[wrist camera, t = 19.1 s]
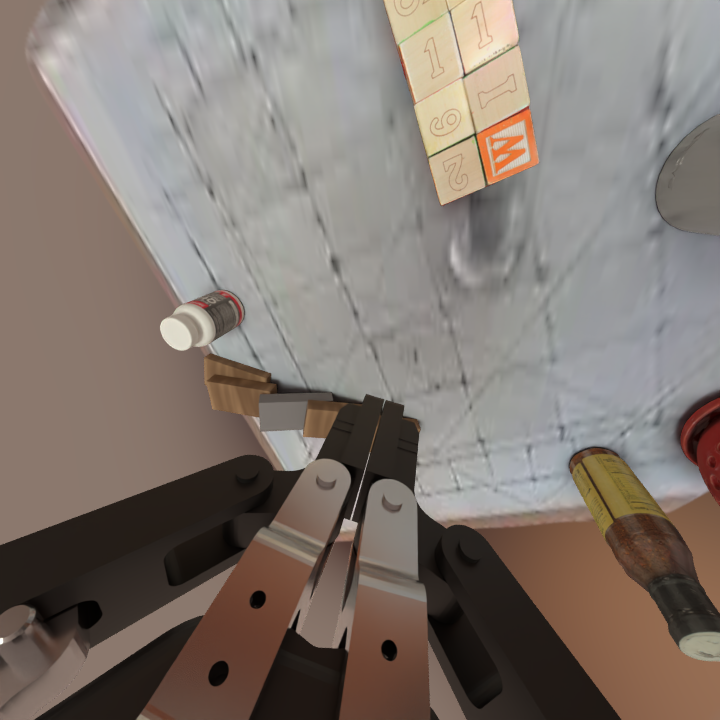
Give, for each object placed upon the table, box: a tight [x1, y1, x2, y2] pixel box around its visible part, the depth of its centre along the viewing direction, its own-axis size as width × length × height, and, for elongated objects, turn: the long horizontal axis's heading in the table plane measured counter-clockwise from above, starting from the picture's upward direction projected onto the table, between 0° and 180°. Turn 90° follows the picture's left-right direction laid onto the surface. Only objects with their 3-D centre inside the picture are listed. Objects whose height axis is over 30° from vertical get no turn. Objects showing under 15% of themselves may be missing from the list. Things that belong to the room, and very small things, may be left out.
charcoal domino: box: [259, 392, 333, 432], centre depth 45 cm, size 2×5×10 cm
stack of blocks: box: [383, 0, 539, 206], centre depth 22 cm, size 21×6×12 cm, turn 23°
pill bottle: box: [160, 290, 244, 350], centre depth 39 cm, size 5×5×10 cm
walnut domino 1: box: [204, 353, 271, 385], centre depth 48 cm, size 2×5×10 cm
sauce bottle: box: [569, 448, 720, 661], centre depth 33 cm, size 6×6×20 cm
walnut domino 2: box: [206, 375, 277, 417], centre depth 47 cm, size 2×5×10 cm
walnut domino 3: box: [303, 400, 362, 438], centre depth 44 cm, size 2×5×10 cm
